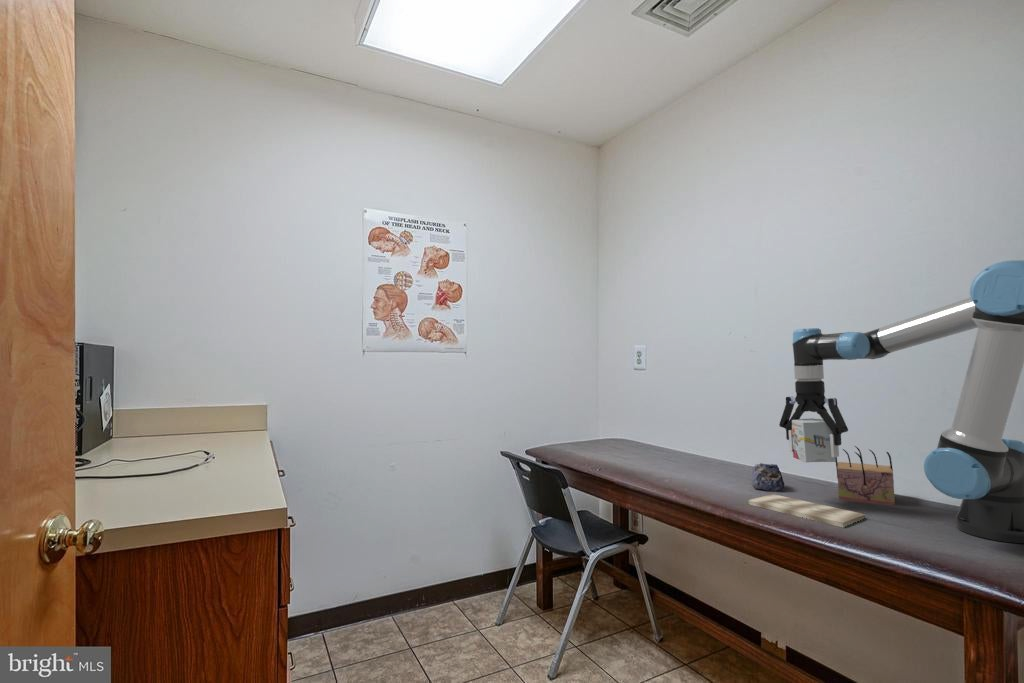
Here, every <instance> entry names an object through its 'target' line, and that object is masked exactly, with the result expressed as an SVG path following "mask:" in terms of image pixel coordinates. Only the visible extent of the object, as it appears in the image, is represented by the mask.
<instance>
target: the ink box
mask: <svg viewBox="0 0 1024 683" xmlns="http://www.w3.org/2000/svg"><path fill="white" fill-rule="evenodd" d="M832 433H833V432H832V431H831V430H830V428H829V427H828V426H827V424H826V423H825V422H824V420H823V419H822V418H800V419H797V420H792V440H793V452H792V454H793V458H794V459H797V460H800V461H802V462H804V463H836V457H831V444H830V434H832Z"/></svg>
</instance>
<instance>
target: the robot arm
mask: <svg viewBox="0 0 1024 683" xmlns="http://www.w3.org/2000/svg"><path fill="white" fill-rule="evenodd" d="M969 296H970V297H968V298H965V299H962V300H958V301H956V302H952V303H951V304H946V305H944V306H941V307H939V308H935V309H932V310H928V311H926V312H923V313H920V314H918V315H914V316H912V317H908V318H905V319H903V320H900V321H897V322H894V323H892V324H888V325H885V326H882V327H880V328H876V329H873V330H870V331H867V332H860V331H846V332H837V333H836V332H835V333H826V334H825V333H822V330H821V329H820V328H815V327H814V328H811V327H810V328H799V329H798V328H797V329H795V330H793V332H792V349H793V362H794V364H793V365H794V366H793V367H794V368H793V369H794V371H793V372H794V379H795V380H797V381H795V382H794V386H795V388H794V389H795V393H796V394H795V395H796V396H786V397H785V406H784V408H783V412H782V416H781V418H780V421H779V427H780V428H784V429H785V434H786V436H785V438H786V440H787V441H789V442H788V444H789V452H790V453H793V440H792V420H797V419H801V417H802V416H803V414H804V413H805V412H811V413H817V414H818V415H819V416H820V417H821V419H822V420H824V422H825V423H826V424H827V426H828V427H829V428H830V430H831V431H832V432H833V433H832V434H830V444H831V457H837V458H838V457H840V450H839V449H840V448H839V446H841V445H842V434H843V433H848V431H849V427H848V426H847V424H846V421H845V419H844V417H843V415H842V413H841V411H840V408H839V406H838V399H837V398H835V397H830V398H827V397H826V396H825V393H826V390H825V382H824V380H823V379H825V378H824V375H825V374H824V361H826V360H827V361H829V360H833V361H834V360H835V361H838V360H840V361H841V360H843V361H844V360H845V361H846V360H847V361H851V360H852V361H854V360H877V359H882V358H884V357H886V356H887V355H888V354H891V353H894V352H898V351H901V350H904V349H909V348H911V347H915V346H919V345H922V344H925V343H928V342H932V341H936V340H939V339H943V338H946V337H949V336H953V335H957V334H960V333H964V332H966V331H970V330H974V329H977V328H978V329H977V332H976V335H975V336H976V337H975V340H974V344H973V347H972V351H971V355H970V357H969V358H970V359H969V362H968V366H967V369H966V372H965V376H964V380H963V384H962V388H961V391H960V395H959V399H958V402H957V406H956V410H955V414H954V418H953V421H952V425H951V427H950V428H947V429H945V430H942V431H941V433H940V437H939V440H938V442H937V446H936V447H937V448H936V449H934V450H931V451H930V452H929V453H928V454H927V456H925V459H924V463H923V470H924V474H925V478H927V479H926V480H928V481H929V483H930V484H931V485H932V487H933V488H934V489H936V490H937V491H938V492H939V493H941V494H943V495H945V496H946V497H950V498H952V499H956V500H957V499H958V500H961V503H960V504H959V505H960V506H959V508H958V511H957V513H956V516H955V526H956V528H957V529H958V530H959V531H962V532H963V533H966V534H969V535H972V536H974V537H979V538H982V539H988V540H993V541H998V542H1003V543H1005V542H1006V543H1013V544H1014V543H1015V544H1024V442H1023V441H1021V440H1017V439H1008V438H1003V436H1004V432H1005V428H1006V425H1007V422H1008V419H1009V417H1010V416H1009V415H1010V413H1011V412H1010V411H1011V410H1012V409H1011V408H1012V404H1013V402H1014V397H1015V395H1016V391H1017V388H1018V384H1019V381H1020V377H1021V374H1022V371H1023V367H1024V260H1023V259H1017V260H1016V259H1015V260H1005V261H999V262H996V263H993V264H991V265H989V266H987V267H986V268H984V269H982V270H981V271H980V272H979V273H978V274H977V275H976V276H975V277H974V279H972V282H971V284H970V288H969ZM795 404H797V407H796V408H795V411H794V413H793V414H792V412H793V409H794V407H795ZM825 405H827V406H828V409H829V411H830V413H831V415H832V416H831V415H830V413H829V412H828V409H827V408H826V407H825Z"/></svg>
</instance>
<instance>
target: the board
mask: <svg viewBox="0 0 1024 683" xmlns="http://www.w3.org/2000/svg"><path fill="white" fill-rule="evenodd" d="M747 502H748V505H750V506H755V507H759V508H762V509H766V510H770V511H774V512H778V513H783V514H787V515H790V514H791V516H794V515H795V516H794V517H799V518H802V517H803V518H802V519H806V518H807V519H806V520H810V519H811V520H812V521H814V520H815V521H814V522H818V521H819V523H822V522H823V524H827V525H831V526H835V527H840V528H845V526H846V527H848V526H847V525H849V526H851V525H853V524H852V523H854V522H856V523H858V522H857V521H859V522H861V521H863V520H862V519H864V518H867V517H866V514H864V513H861V512H856V511H852V510H847V509H842V508H837V507H833V506H830V505H825V504H820V503H816V502H812V501H811V502H810V501H806V500H802V499H797V498H792V497H788V496H783V495H778V494H773V493H771V494H766V495H763V496H760V497H755V498H751V499H749V500H748V501H747ZM860 520H861V521H860ZM864 520H865V519H864ZM850 524H851V525H850ZM854 524H855V523H854Z"/></svg>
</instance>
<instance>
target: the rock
mask: <svg viewBox="0 0 1024 683" xmlns="http://www.w3.org/2000/svg"><path fill="white" fill-rule="evenodd" d="M751 469H752V470H751V473H750V474H751V475H750V476H751V477H750V482H751V486H752V487H753V488H755V489H759V490H764V491H767V492H778V491H780V490H782V489H783V488H785V482H784V478H783V475H782V472H781V471H780V468H779V466H778V464H773V463H770V464H769V463H763V462H760V463H757V464H754V466H752V467H751Z"/></svg>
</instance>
